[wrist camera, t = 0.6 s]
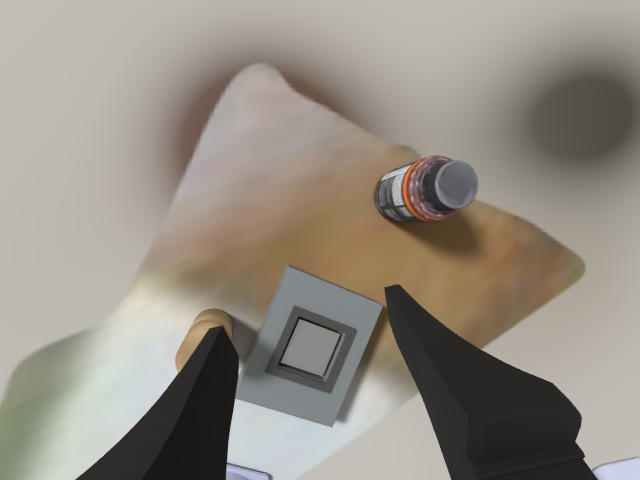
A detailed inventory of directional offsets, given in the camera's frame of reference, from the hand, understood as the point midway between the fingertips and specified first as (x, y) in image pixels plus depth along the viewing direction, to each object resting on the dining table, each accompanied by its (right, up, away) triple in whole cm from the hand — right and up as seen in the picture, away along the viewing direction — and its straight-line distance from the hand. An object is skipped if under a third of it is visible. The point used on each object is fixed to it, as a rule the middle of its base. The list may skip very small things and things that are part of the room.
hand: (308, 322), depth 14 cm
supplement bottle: (+9, +9, +23) cm, 26 cm away
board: (-1, -8, +22) cm, 23 cm away
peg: (-11, -5, +19) cm, 23 cm away
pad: (-1, -8, +20) cm, 22 cm away
